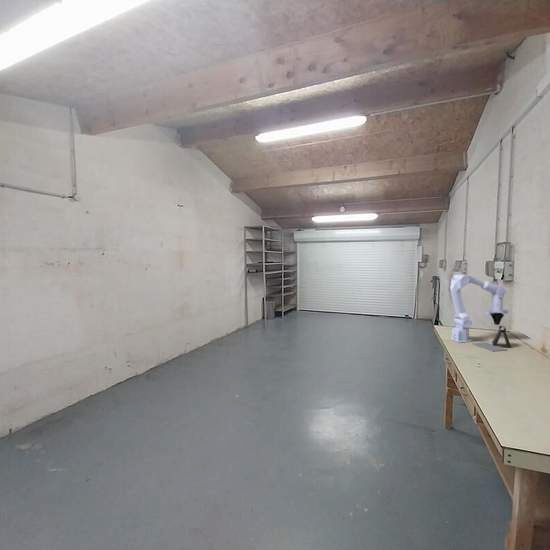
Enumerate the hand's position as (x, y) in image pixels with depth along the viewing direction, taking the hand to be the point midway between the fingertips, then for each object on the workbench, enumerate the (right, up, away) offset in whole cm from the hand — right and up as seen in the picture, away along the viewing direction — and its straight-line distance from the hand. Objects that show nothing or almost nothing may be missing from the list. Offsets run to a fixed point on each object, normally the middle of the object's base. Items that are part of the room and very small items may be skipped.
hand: (496, 324), depth 191 cm
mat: (-15, -12, -13) cm, 23 cm away
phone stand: (-6, -11, -11) cm, 17 cm away
